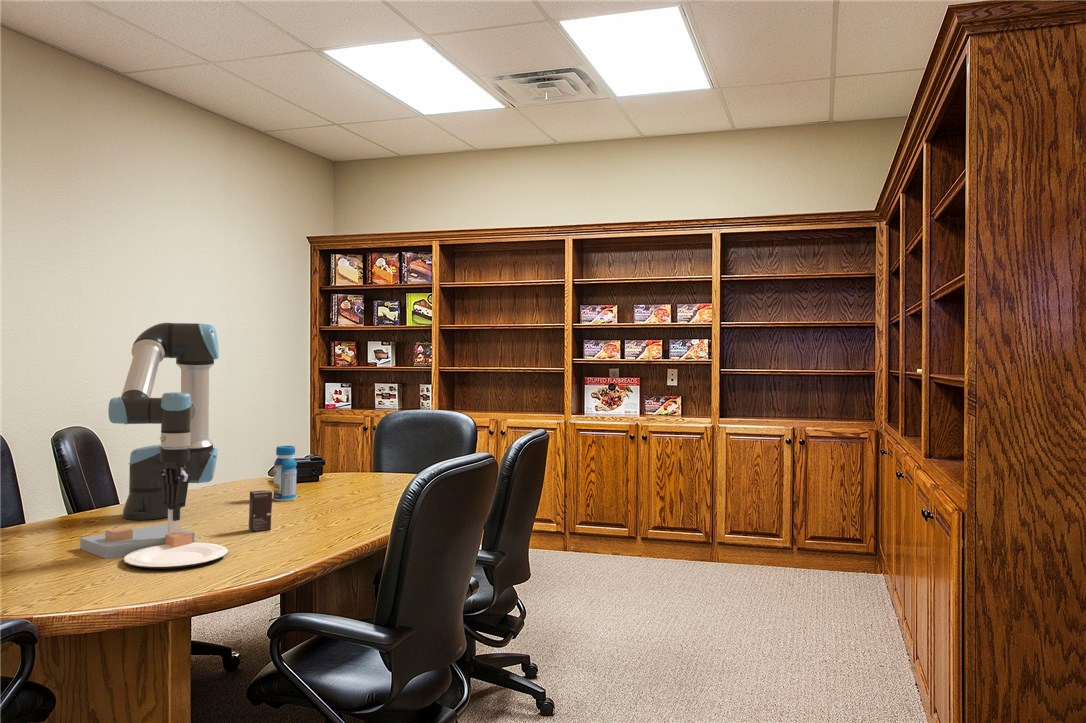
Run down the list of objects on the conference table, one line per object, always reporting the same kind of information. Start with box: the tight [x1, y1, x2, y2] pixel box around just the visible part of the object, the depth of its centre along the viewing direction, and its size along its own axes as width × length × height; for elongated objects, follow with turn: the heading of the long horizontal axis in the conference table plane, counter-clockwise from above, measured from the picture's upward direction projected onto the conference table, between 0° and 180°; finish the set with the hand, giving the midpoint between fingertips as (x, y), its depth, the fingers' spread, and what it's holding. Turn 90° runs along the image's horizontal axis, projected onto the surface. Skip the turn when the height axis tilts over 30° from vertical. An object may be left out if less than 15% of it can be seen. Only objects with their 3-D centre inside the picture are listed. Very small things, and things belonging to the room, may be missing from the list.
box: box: [248, 489, 273, 533], centre depth 241 cm, size 6×4×12 cm
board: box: [79, 523, 195, 560], centre depth 218 cm, size 16×24×3 cm, turn 142°
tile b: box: [105, 526, 134, 542], centre depth 213 cm, size 5×5×2 cm
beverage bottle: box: [272, 445, 298, 502], centre depth 292 cm, size 8×8×20 cm
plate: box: [123, 542, 229, 570], centre depth 205 cm, size 25×25×2 cm
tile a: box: [165, 532, 192, 547], centre depth 215 cm, size 5×5×2 cm
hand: (173, 531), depth 217 cm, fingers closed
